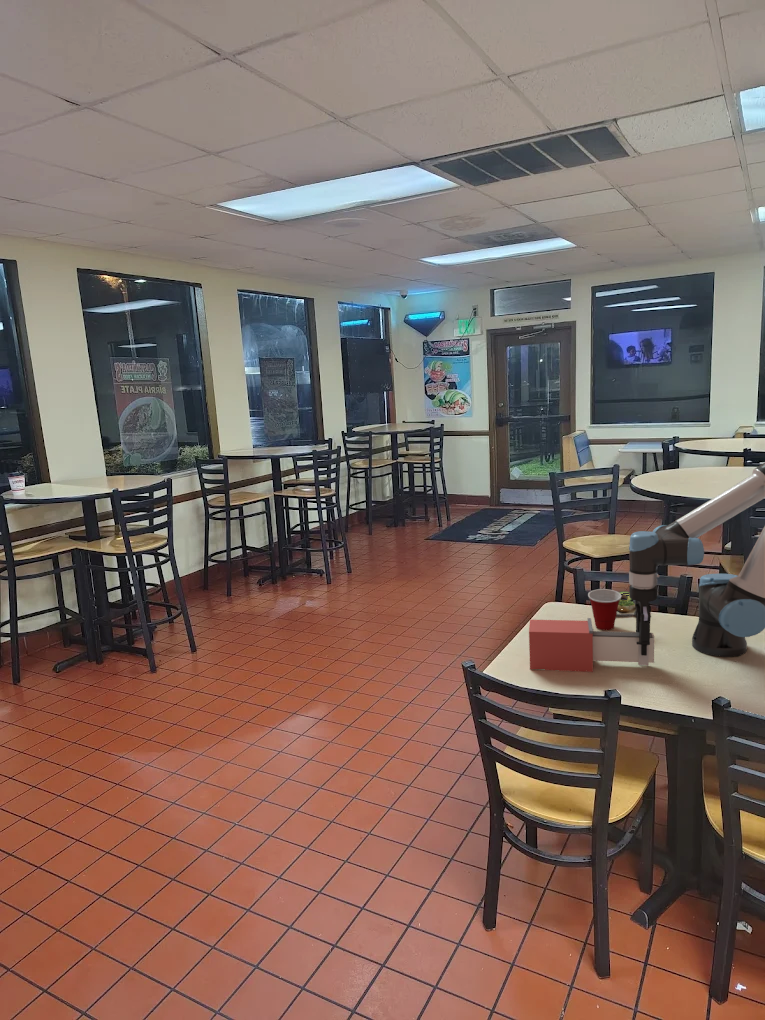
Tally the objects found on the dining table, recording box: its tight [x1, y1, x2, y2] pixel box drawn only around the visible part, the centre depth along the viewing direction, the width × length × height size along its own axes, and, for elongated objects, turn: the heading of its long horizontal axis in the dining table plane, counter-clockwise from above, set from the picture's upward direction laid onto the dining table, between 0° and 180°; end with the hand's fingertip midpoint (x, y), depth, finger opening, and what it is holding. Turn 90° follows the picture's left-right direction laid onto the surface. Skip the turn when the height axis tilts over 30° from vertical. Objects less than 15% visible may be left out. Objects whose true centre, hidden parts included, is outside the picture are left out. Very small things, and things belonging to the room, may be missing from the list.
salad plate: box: [616, 591, 636, 618], centre depth 244 cm, size 19×18×5 cm
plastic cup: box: [587, 588, 622, 631], centre depth 228 cm, size 11×11×12 cm
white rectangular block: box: [593, 630, 655, 664], centre depth 198 cm, size 18×3×8 cm, turn 76°
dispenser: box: [528, 617, 594, 673], centre depth 203 cm, size 18×10×13 cm, turn 76°
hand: (642, 661), depth 198 cm, fingers closed on white rectangular block, 3 cm apart
